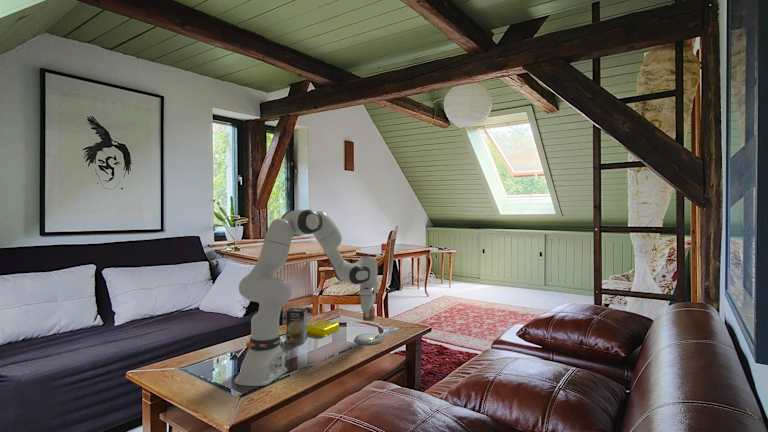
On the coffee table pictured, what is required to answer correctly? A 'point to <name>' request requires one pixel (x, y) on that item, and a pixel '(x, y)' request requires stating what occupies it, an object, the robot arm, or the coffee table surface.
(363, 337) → the dish
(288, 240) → the robot arm
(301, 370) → the coffee table surface
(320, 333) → the element tile
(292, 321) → the coffee box
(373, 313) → the block
